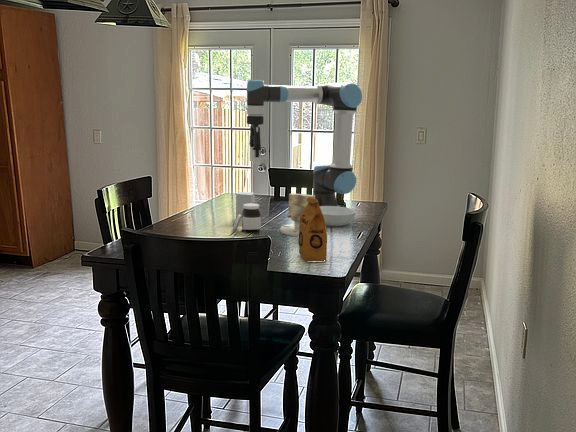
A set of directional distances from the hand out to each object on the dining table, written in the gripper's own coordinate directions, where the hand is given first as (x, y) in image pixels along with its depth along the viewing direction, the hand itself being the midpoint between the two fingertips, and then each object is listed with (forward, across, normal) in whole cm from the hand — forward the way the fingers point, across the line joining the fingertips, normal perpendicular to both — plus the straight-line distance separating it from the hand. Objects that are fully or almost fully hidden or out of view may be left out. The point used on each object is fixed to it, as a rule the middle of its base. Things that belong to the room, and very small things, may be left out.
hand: (254, 162), depth 261 cm
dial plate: (+28, +21, +18) cm, 39 cm away
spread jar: (+28, +17, -6) cm, 33 cm away
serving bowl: (+28, +8, +35) cm, 46 cm away
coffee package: (+28, +63, +13) cm, 70 cm away
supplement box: (+28, -6, -4) cm, 29 cm away
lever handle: (+22, +21, +17) cm, 35 cm away
